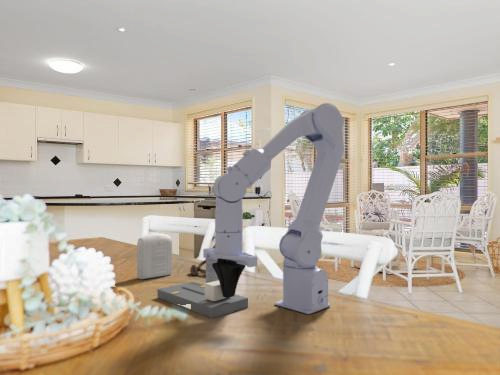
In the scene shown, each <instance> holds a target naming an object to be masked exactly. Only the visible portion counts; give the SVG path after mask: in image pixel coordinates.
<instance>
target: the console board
mask: <svg viewBox="0 0 500 375" xmlns="http://www.w3.org/2000/svg"><path fill="white" fill-rule="evenodd" d="M156 290H157V292H156V293H157V296H156V297H157V299H160V300H162V301H166V302H168V303H171V304H172V305H173V304H174V305H176V304H180V305H186V304H191V310H190V311H192V312H194V313H197V314H200V315H202V316H206V317H207V318H210V319H215V318H217V317H220V316H224V315H227V314H230V313H233V312H237V311H241V310H243V309H246V308H249V297H246V296H243V295H239V294H236V293H235V295H234V296H233V297H229V298H225V299H221V300H217V301H211V300H208V299H205V284H202V283H199V282H193V281H189V282H185V283H179V284H176V285H175V284H174V285H169V286H165V287H161V288H157V289H156Z"/></svg>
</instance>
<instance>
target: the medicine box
mask: <svg viewBox="0 0 500 375" xmlns="http://www.w3.org/2000/svg"><path fill="white" fill-rule="evenodd" d="M205 260H206V263H205V270H206V273H205V283H209V282H213V281H218V280H219V279H218V276H217V274H216V272H215V270H214V269H213V267H212V264H213V263H217V259H213V258H205Z"/></svg>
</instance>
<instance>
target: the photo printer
mask: <svg viewBox="0 0 500 375" xmlns="http://www.w3.org/2000/svg"><path fill="white" fill-rule="evenodd" d="M136 254H137V255H136V258H137V260H136V276H137V279H139V280H145V279H146V280H147V279H152V278H159V277H164V276H171V275H172V270H173V269H172V268H173V240H172V237H171V235H169V234H167V233H166V234H165V233H160V232H157V233H149V234H145V235H143V236H141V237H139V238H138V239H137V252H136Z"/></svg>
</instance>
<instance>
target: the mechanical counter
mask: <svg viewBox="0 0 500 375" xmlns="http://www.w3.org/2000/svg"><path fill="white" fill-rule="evenodd" d="M203 265H206V259H204V260H203V261H201V262H200V263H199V264H198V266H197V265H196V264H191V267H190V268H189V269H190V270H189V271H190V274H192V276H198V274H199V272H200V273H202V274H206V269H202V267H203Z"/></svg>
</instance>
